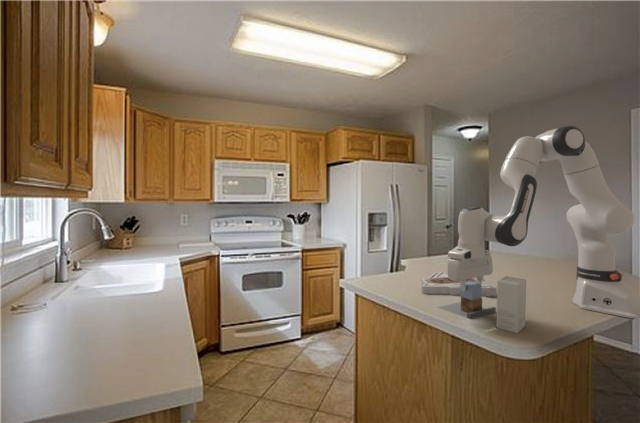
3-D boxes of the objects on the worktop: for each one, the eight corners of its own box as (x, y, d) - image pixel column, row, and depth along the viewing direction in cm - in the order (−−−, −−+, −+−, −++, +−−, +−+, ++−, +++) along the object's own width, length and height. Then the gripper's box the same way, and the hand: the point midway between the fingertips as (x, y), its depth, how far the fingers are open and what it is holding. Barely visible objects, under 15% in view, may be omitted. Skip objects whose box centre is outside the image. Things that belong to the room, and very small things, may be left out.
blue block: (481, 298, 123) (481, 284, 123) (472, 300, 120) (472, 286, 120) (469, 294, 127) (469, 281, 127) (460, 296, 125) (460, 283, 125)
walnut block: (482, 312, 122) (482, 298, 122) (472, 314, 120) (472, 300, 120) (470, 308, 127) (470, 295, 127) (460, 310, 125) (460, 296, 124)
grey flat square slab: (495, 313, 123) (495, 307, 123) (469, 320, 116) (469, 314, 116) (463, 302, 135) (463, 297, 135) (437, 308, 129) (437, 303, 129)
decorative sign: (499, 298, 143) (474, 280, 173) (499, 288, 142) (474, 272, 172) (422, 296, 146) (410, 279, 176) (422, 287, 146) (410, 271, 175)
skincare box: (505, 321, 115) (505, 275, 114) (527, 326, 110) (527, 279, 109) (495, 328, 109) (496, 280, 108) (518, 334, 104) (519, 283, 104)
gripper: (482, 248, 131) (482, 283, 131) (444, 252, 121) (444, 291, 122) (497, 250, 125) (497, 287, 126) (459, 255, 116) (459, 295, 116)
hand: (470, 289), depth 124 cm, fingers open, 6 cm apart
